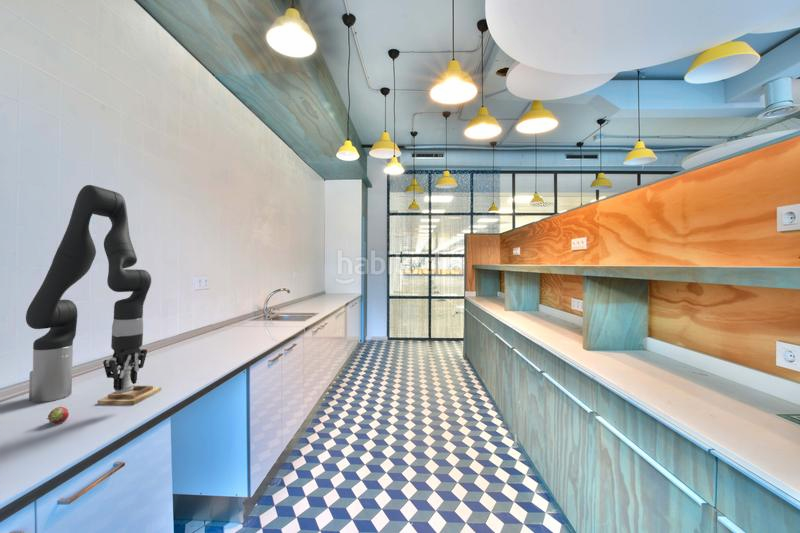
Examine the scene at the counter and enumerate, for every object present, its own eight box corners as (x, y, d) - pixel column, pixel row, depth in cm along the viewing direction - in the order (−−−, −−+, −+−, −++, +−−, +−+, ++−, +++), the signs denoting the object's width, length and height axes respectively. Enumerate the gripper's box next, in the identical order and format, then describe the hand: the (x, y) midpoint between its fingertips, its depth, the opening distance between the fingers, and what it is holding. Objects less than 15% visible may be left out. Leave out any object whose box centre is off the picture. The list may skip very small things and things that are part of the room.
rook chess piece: (118, 388, 102) (119, 363, 102) (135, 387, 104) (137, 362, 104) (112, 394, 98) (113, 368, 98) (130, 392, 100) (131, 366, 100)
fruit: (73, 416, 96) (74, 399, 96) (64, 425, 91) (64, 407, 91) (54, 419, 94) (54, 402, 94) (43, 428, 89) (43, 410, 89)
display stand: (97, 404, 105) (97, 396, 105) (128, 390, 117) (128, 383, 117) (134, 404, 105) (134, 397, 105) (161, 390, 117) (161, 384, 117)
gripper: (134, 327, 108) (132, 378, 108) (94, 336, 94) (91, 395, 94) (156, 328, 108) (154, 379, 108) (119, 338, 94) (117, 396, 94)
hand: (125, 386), depth 101 cm, fingers closed on rook chess piece, 4 cm apart
